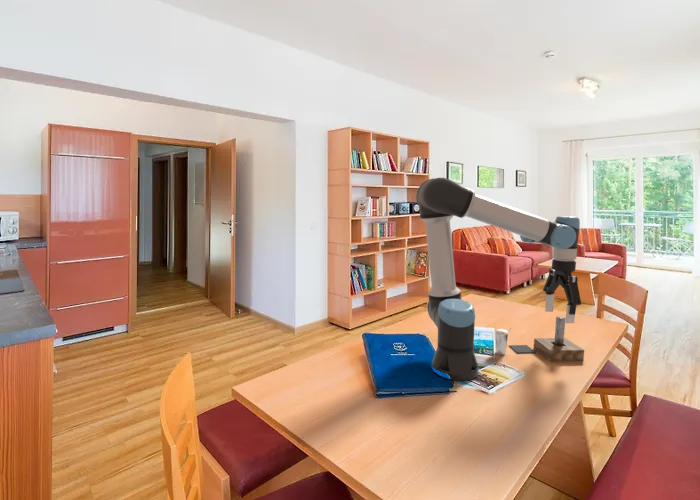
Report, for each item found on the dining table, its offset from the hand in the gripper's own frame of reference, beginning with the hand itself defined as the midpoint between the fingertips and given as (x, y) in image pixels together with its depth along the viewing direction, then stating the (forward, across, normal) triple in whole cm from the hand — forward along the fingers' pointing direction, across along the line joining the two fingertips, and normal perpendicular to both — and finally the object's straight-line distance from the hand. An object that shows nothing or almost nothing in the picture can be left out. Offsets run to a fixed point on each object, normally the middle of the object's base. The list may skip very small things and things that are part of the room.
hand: (558, 316), depth 145 cm
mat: (+14, +5, +10) cm, 18 cm away
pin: (+14, 0, -1) cm, 14 cm away
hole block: (+14, 0, -1) cm, 14 cm away
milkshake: (+15, +2, +19) cm, 24 cm away
